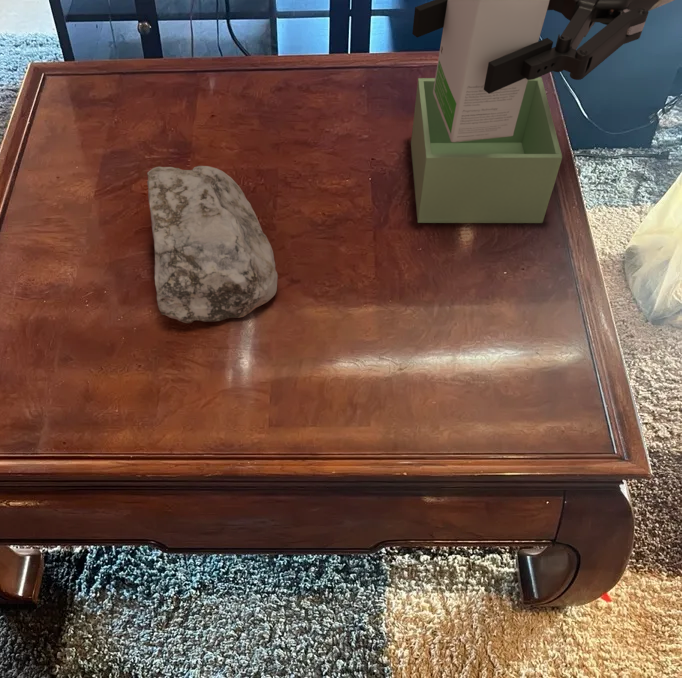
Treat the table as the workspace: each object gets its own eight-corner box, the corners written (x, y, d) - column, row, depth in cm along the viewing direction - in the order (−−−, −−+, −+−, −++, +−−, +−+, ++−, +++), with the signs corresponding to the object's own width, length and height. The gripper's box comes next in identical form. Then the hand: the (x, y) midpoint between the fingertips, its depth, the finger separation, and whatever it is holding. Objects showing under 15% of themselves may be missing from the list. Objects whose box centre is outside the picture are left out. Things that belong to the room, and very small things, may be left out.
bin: (542, 223, 92) (562, 157, 85) (417, 223, 93) (426, 157, 86) (525, 143, 101) (541, 77, 94) (410, 143, 102) (418, 78, 94)
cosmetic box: (431, 93, 83) (451, -58, 71) (495, 87, 83) (525, -65, 71) (451, 145, 78) (476, -8, 65) (518, 138, 78) (556, -16, 66)
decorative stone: (136, 200, 95) (141, 139, 87) (247, 199, 99) (262, 140, 90) (154, 342, 86) (161, 289, 78) (276, 335, 89) (295, 284, 81)
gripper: (711, 64, 75) (526, 150, 69) (547, -36, 87) (376, 29, 81) (745, -12, 69) (546, 74, 63) (563, -109, 81) (381, -44, 75)
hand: (451, 49), depth 72 cm, fingers closed on cosmetic box, 10 cm apart
